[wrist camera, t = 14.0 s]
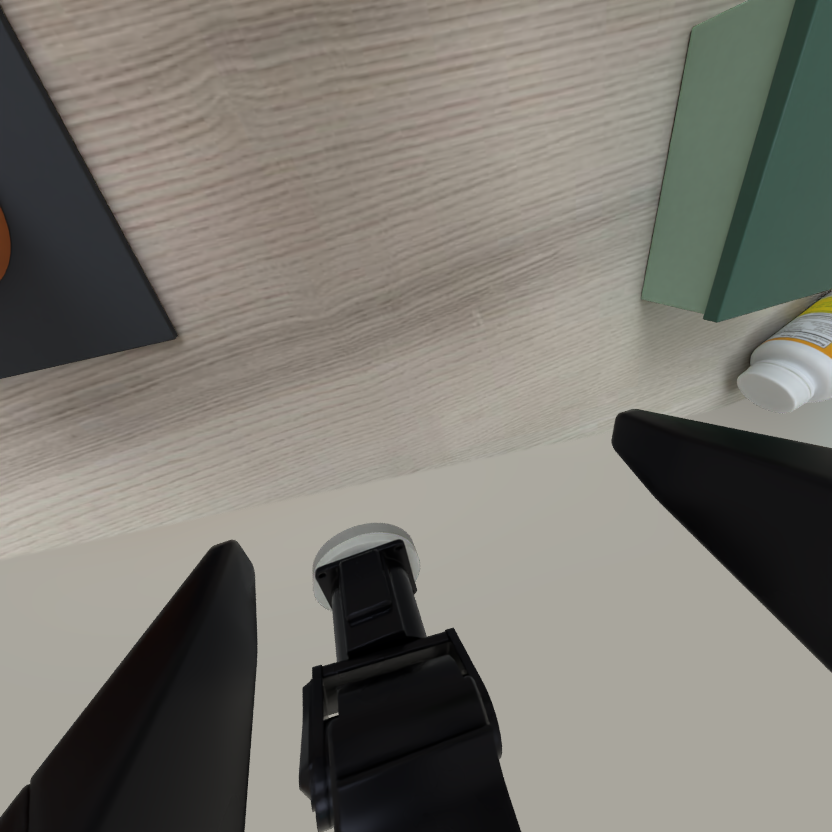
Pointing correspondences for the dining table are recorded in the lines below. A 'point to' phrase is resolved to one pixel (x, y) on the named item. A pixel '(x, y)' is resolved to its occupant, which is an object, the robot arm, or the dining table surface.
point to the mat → (60, 241)
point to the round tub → (4, 245)
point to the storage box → (749, 164)
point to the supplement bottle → (793, 363)
